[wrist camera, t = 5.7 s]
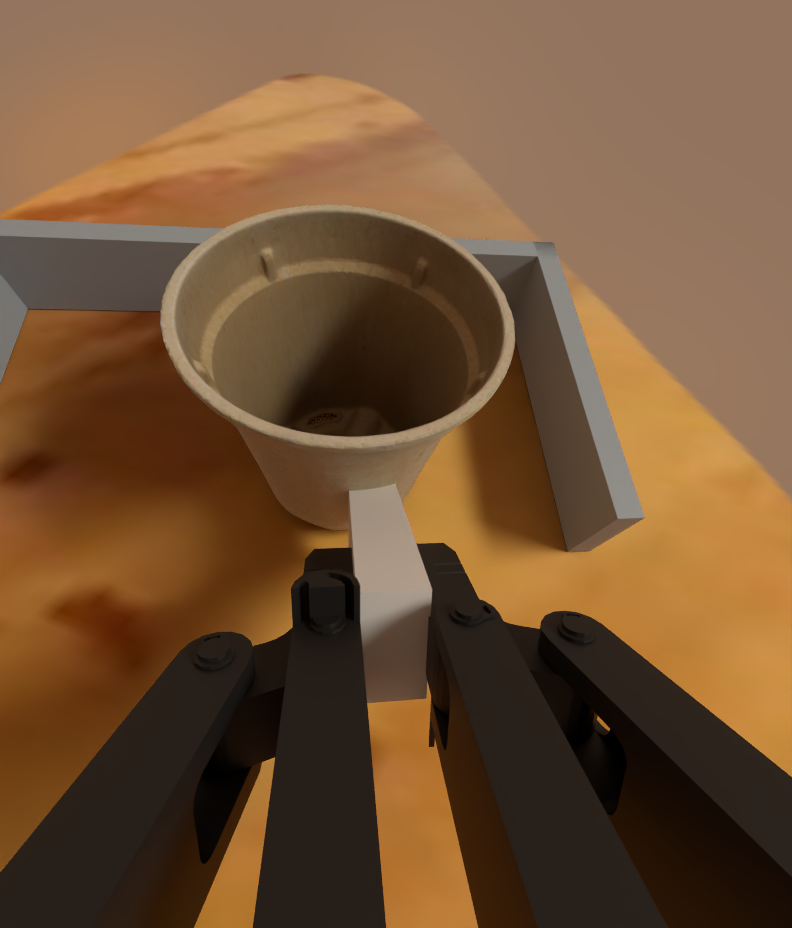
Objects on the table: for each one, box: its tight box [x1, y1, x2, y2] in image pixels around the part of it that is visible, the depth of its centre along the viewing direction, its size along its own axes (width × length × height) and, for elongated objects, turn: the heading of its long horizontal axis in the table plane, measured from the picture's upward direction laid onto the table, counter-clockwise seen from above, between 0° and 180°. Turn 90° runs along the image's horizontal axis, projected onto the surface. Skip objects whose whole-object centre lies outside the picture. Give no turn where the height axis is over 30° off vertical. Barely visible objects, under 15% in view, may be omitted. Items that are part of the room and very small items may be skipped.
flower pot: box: [160, 204, 515, 530], centre depth 16 cm, size 9×9×9 cm
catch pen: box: [0, 219, 645, 552], centre depth 19 cm, size 26×14×4 cm, turn 94°
